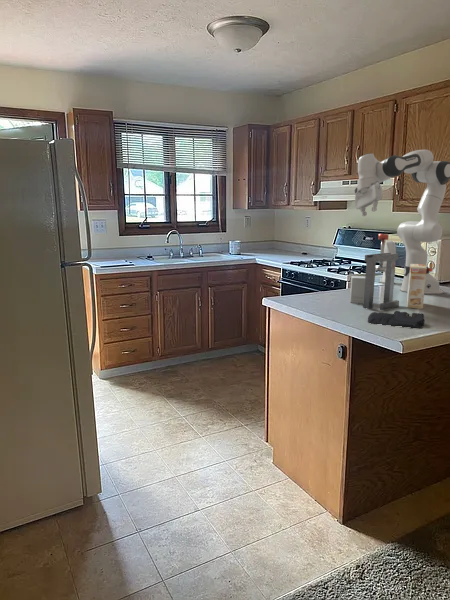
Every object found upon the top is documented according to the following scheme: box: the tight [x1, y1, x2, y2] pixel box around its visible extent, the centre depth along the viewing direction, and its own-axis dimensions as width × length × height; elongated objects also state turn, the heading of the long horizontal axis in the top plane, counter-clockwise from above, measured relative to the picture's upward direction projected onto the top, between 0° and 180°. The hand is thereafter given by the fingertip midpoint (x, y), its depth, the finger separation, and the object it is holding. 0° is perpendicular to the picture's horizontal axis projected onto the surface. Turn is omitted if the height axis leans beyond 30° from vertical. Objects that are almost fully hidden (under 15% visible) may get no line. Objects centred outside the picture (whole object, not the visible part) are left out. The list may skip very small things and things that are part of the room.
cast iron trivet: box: [367, 310, 426, 329], centre depth 192 cm, size 15×22×5 cm
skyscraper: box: [378, 239, 397, 285], centre depth 286 cm, size 8×8×28 cm
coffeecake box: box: [406, 264, 427, 310], centre depth 223 cm, size 15×7×20 cm, turn 160°
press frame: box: [362, 252, 400, 311], centre depth 218 cm, size 10×19×25 cm, turn 127°
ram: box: [375, 233, 389, 273], centre depth 217 cm, size 5×5×17 cm
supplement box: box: [349, 275, 366, 304], centre depth 231 cm, size 7×7×13 cm
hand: (369, 213), depth 228 cm, fingers open, 8 cm apart
